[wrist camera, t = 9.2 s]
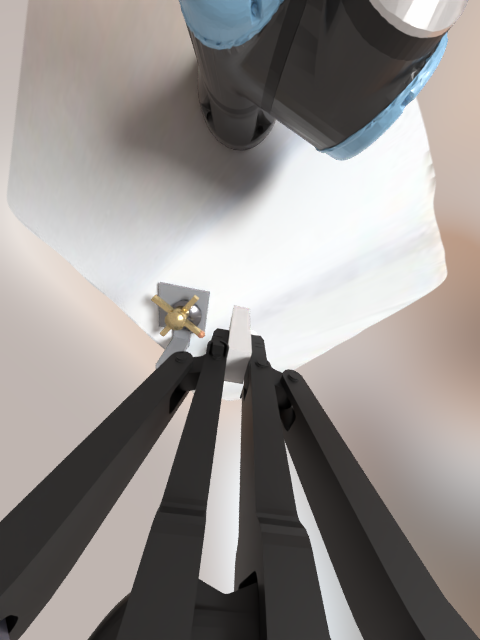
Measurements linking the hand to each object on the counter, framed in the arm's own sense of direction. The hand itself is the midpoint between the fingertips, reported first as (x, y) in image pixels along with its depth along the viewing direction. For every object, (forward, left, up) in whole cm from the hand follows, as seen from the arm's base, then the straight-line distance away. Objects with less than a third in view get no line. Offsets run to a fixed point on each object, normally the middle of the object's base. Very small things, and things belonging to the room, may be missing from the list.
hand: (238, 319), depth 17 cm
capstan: (+18, -14, -32) cm, 39 cm away
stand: (+20, -14, -34) cm, 42 cm away
